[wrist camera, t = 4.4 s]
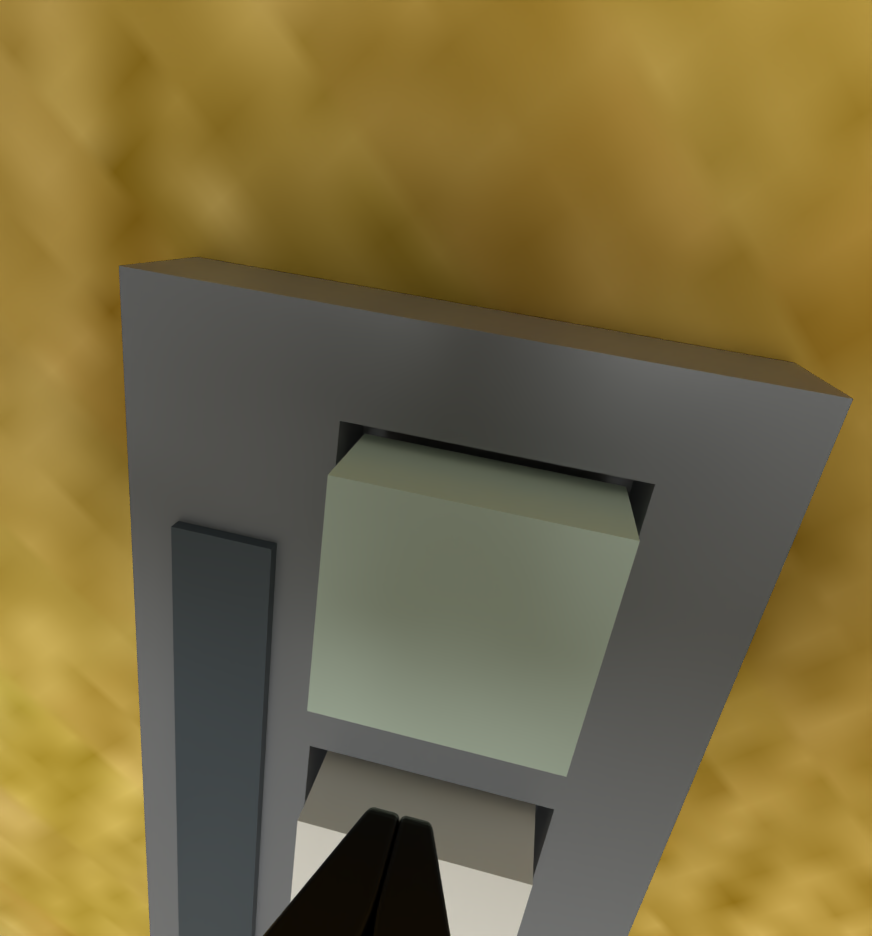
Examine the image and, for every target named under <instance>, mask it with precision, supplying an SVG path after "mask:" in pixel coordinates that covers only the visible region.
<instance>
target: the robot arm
mask: <svg viewBox="0 0 872 936" xmlns="http://www.w3.org/2000/svg"><path fill="white" fill-rule="evenodd" d="M263 936H451V935H450V929H449V923H448V917H447V911H446V905H445V899H444V893H443V887H442V881H441V875H440V869H439V862H438V856H437V850H436V844H435V838H434V832H433V828H432V825H431V824H430V823H429V822H428V821H425V820H421V819H417V818H414V817H410V816H403V817H402V818H401V819H400V821H399V816H398V814H397V813H395V812H391V811H387V810H384V809H380V808H376V807H372V808H369V809H368V810H367V811H366V812H365V813H364V814H363V815H362V816H361V818H360V819H359V820H358V821H357V822H356V824H355V825H354V826H353V827H352V828H351V830H350V831H349V832H348V833H347V834H346V836H345V837H344V838H343V839H342V840H341V842H340V843H339V844H338V845H337V847H336V848H335V849H334V850H333V851H332V853H331V854H330V855H329V856H328V857H327V859H326V860H325V861H324V862H323V863H322V865H321V866H320V867H319V868H318V869H317V871H316V872H315V873H314V874H313V876H312V877H311V878H310V879H309V880H308V882H307V883H306V884H305V885H304V886H303V888H302V889H301V890H300V891H299V892H298V894H297V895H296V896H295V897H294V898H293V900H292V901H291V902H290V903H289V905H288V906H287V907H286V908H285V909H284V911H283V912H282V913H281V914H280V915H279V917H278V918H277V919H276V920H275V921H274V923H273V924H272V925H271V926H270V928H269V929H268V930H267V931H266V932H265V934H264V935H263Z"/></svg>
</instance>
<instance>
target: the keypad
mask: <svg viewBox="0 0 872 936" xmlns="http://www.w3.org/2000/svg"><path fill="white" fill-rule="evenodd" d="M119 276H120V298H121V319H122V341H123V362H124V383H125V405H126V426H127V448H128V469H129V491H130V512H131V533H132V555H133V576H134V598H135V619H136V640H137V662H138V683H139V705H140V726H141V748H142V769H143V790H144V812H145V833H146V855H147V876H148V898H149V919H150V936H263V935H264V934H265V932H266V931H267V930H268V929H269V928H270V926H271V925H272V924H273V923H274V921H275V920H276V919H277V918H278V917H279V915H280V914H281V913H282V912H283V911H284V909H285V908H286V907H287V906H288V905H289V903H290V901H291V889H292V878H293V867H294V855H295V844H296V832H297V821H298V818H299V816H300V814H301V811H302V809H303V807H304V805H305V802H306V800H307V798H308V795H309V793H310V791H311V788H312V786H313V784H314V781H315V779H316V777H317V774H318V772H319V770H320V767H321V765H322V763H323V760H324V758H325V756H326V754H327V751H332V752H336V753H339V754H343V755H347V756H351V757H355V758H359V759H363V760H366V761H370V762H374V763H378V764H382V765H386V766H389V767H393V768H397V769H401V770H405V771H409V772H412V773H416V774H420V775H424V776H428V777H432V778H435V779H439V780H443V781H447V782H451V783H455V784H458V785H462V786H466V787H470V788H474V789H478V790H481V791H485V792H489V793H493V794H497V795H501V796H504V797H508V798H512V799H516V800H520V801H524V802H528V803H531V804H535V805H536V809H535V835H534V862H533V886H532V889H531V892H530V895H529V898H528V902H527V905H526V908H525V911H524V914H523V918H522V921H521V924H520V927H519V931H518V934H517V936H628V934H629V931H630V929H631V927H632V924H633V922H634V919H635V917H636V915H637V912H638V910H639V908H640V905H641V903H642V900H643V898H644V896H645V893H646V891H647V889H648V886H649V884H650V881H651V879H652V877H653V874H654V872H655V869H656V867H657V865H658V862H659V860H660V858H661V855H662V853H663V850H664V848H665V846H666V843H667V841H668V839H669V836H670V834H671V831H672V829H673V827H674V824H675V822H676V819H677V817H678V815H679V812H680V810H681V808H682V805H683V803H684V800H685V798H686V796H687V793H688V791H689V789H690V786H691V784H692V781H693V779H694V777H695V774H696V772H697V769H698V767H699V765H700V762H701V760H702V758H703V755H704V753H705V750H706V748H707V746H708V743H709V741H710V739H711V736H712V734H713V731H714V729H715V727H716V724H717V722H718V719H719V717H720V715H721V712H722V710H723V708H724V705H725V703H726V700H727V698H728V696H729V693H730V691H731V689H732V686H733V684H734V681H735V679H736V677H737V674H738V672H739V669H740V667H741V665H742V662H743V660H744V658H745V655H746V653H747V650H748V648H749V646H750V643H751V641H752V639H753V636H754V634H755V631H756V629H757V627H758V624H759V622H760V619H761V617H762V615H763V612H764V610H765V608H766V605H767V603H768V600H769V598H770V596H771V593H772V591H773V589H774V586H775V584H776V581H777V579H778V577H779V574H780V572H781V569H782V567H783V565H784V562H785V560H786V558H787V555H788V553H789V550H790V548H791V546H792V543H793V541H794V539H795V536H796V534H797V531H798V529H799V527H800V524H801V522H802V519H803V517H804V515H805V512H806V510H807V508H808V505H809V503H810V500H811V498H812V496H813V493H814V491H815V489H816V486H817V484H818V481H819V479H820V477H821V474H822V472H823V469H824V467H825V465H826V462H827V460H828V458H829V455H830V453H831V450H832V448H833V446H834V443H835V441H836V439H837V436H838V434H839V431H840V429H841V427H842V424H843V422H844V419H845V417H846V415H847V412H848V410H849V408H850V405H851V403H852V400H853V398H851V397H849V396H848V395H846V394H844V393H843V392H841V391H840V390H838V389H836V388H835V387H833V386H831V385H830V384H828V383H827V382H825V381H823V380H822V379H820V378H818V377H817V376H815V375H814V374H812V373H810V372H809V371H807V370H805V369H804V368H802V367H801V366H799V365H797V364H796V363H793V362H787V361H781V360H776V359H770V358H764V357H759V356H753V355H747V354H742V353H736V352H730V351H725V350H719V349H714V348H708V347H702V346H697V345H691V344H685V343H680V342H674V341H668V340H663V339H657V338H651V337H646V336H640V335H635V334H629V333H623V332H618V331H612V330H606V329H601V328H595V327H589V326H584V325H578V324H573V323H567V322H561V321H556V320H550V319H544V318H539V317H533V316H527V315H522V314H516V313H510V312H505V311H499V310H494V309H488V308H482V307H477V306H471V305H465V304H460V303H454V302H448V301H443V300H437V299H432V298H426V297H420V296H415V295H409V294H403V293H398V292H392V291H386V290H381V289H375V288H369V287H364V286H358V285H353V284H347V283H341V282H336V281H330V280H324V279H319V278H313V277H307V276H302V275H296V274H291V273H285V272H279V271H274V270H268V269H262V268H257V267H251V266H245V265H240V264H234V263H228V262H223V261H217V260H212V259H206V258H200V257H193V258H184V259H175V260H166V261H156V262H147V263H138V264H129V265H120V266H119ZM364 434H369V435H374V436H379V437H384V438H389V439H394V440H399V441H404V442H409V443H414V444H419V445H424V446H429V447H433V448H438V449H443V450H448V451H453V452H458V453H463V454H468V455H473V456H478V457H483V458H488V459H493V460H497V461H502V462H507V463H512V464H517V465H522V466H527V467H532V468H537V469H542V470H547V471H552V472H557V473H561V474H566V475H571V476H576V477H581V478H586V479H591V480H596V481H601V482H606V483H611V484H616V485H621V486H625V487H626V488H627V492H628V496H629V500H630V504H631V508H632V512H633V516H634V520H635V524H636V528H637V532H638V536H639V540H640V542H639V545H638V549H637V552H636V555H635V558H634V562H633V565H632V568H631V571H630V574H629V578H628V581H627V584H626V587H625V590H624V594H623V597H622V600H621V603H620V606H619V610H618V613H617V616H616V619H615V623H614V626H613V629H612V632H611V635H610V639H609V642H608V645H607V648H606V651H605V655H604V658H603V661H602V664H601V667H600V671H599V674H598V677H597V680H596V683H595V687H594V690H593V693H592V696H591V700H590V703H589V706H588V709H587V712H586V716H585V719H584V722H583V725H582V728H581V732H580V735H579V738H578V741H577V744H576V748H575V751H574V754H573V757H572V760H571V764H570V767H569V770H568V773H567V777H565V776H561V775H557V774H553V773H549V772H545V771H541V770H537V769H534V768H530V767H526V766H522V765H518V764H514V763H510V762H506V761H502V760H498V759H494V758H490V757H486V756H482V755H479V754H475V753H471V752H467V751H463V750H459V749H455V748H451V747H447V746H443V745H439V744H435V743H431V742H427V741H424V740H420V739H416V738H412V737H408V736H404V735H400V734H396V733H392V732H388V731H384V730H380V729H376V728H372V727H368V726H365V725H361V724H357V723H353V722H349V721H345V720H341V719H337V718H333V717H329V716H325V715H321V714H317V713H313V712H310V711H307V706H308V695H309V684H310V672H311V661H312V649H313V638H314V626H315V615H316V603H317V592H318V581H319V569H320V558H321V546H322V535H323V523H324V512H325V500H326V489H327V478H328V474H329V473H330V472H331V471H332V470H333V468H334V467H335V466H336V465H337V464H338V463H339V462H340V461H341V460H342V458H343V457H344V456H345V455H346V454H347V453H348V452H349V451H350V449H351V448H352V447H353V446H354V445H355V444H356V443H357V442H358V440H359V439H360V438H361V437H362V436H363V435H364Z"/></svg>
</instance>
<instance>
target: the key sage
mask: <svg viewBox="0 0 872 936" xmlns="http://www.w3.org/2000/svg"><path fill="white" fill-rule="evenodd" d="M639 542H640V540H639V536H638V532H637V528H636V524H635V520H634V516H633V512H632V508H631V504H630V500H629V496H628V492H627V488H626V487H625V486H621V485H616V484H611V483H606V482H601V481H596V480H591V479H586V478H581V477H576V476H571V475H566V474H561V473H557V472H552V471H547V470H542V469H537V468H532V467H527V466H522V465H517V464H512V463H507V462H502V461H497V460H493V459H488V458H483V457H478V456H473V455H468V454H463V453H458V452H453V451H448V450H443V449H438V448H433V447H429V446H424V445H419V444H414V443H409V442H404V441H399V440H394V439H389V438H384V437H379V436H374V435H369V434H364V435H363V436H362V437H361V438H360V439H359V440H358V442H357V443H356V444H355V445H354V446H353V447H352V448H351V449H350V451H349V452H348V453H347V454H346V455H345V456H344V457H343V458H342V460H341V461H340V462H339V463H338V464H337V465H336V466H335V467H334V468H333V470H332V471H331V472H330V473H329V474H328V478H327V489H326V500H325V512H324V523H323V535H322V546H321V558H320V569H319V581H318V592H317V603H316V615H315V626H314V638H313V649H312V661H311V672H310V684H309V695H308V706H307V711H310V712H313V713H317V714H321V715H325V716H329V717H333V718H337V719H341V720H345V721H349V722H353V723H357V724H361V725H365V726H368V727H372V728H376V729H380V730H384V731H388V732H392V733H396V734H400V735H404V736H408V737H412V738H416V739H420V740H424V741H427V742H431V743H435V744H439V745H443V746H447V747H451V748H455V749H459V750H463V751H467V752H471V753H475V754H479V755H482V756H486V757H490V758H494V759H498V760H502V761H506V762H510V763H514V764H518V765H522V766H526V767H530V768H534V769H537V770H541V771H545V772H549V773H553V774H557V775H561V776H565V777H567V773H568V770H569V767H570V764H571V760H572V757H573V754H574V751H575V748H576V744H577V741H578V738H579V735H580V732H581V728H582V725H583V722H584V719H585V716H586V712H587V709H588V706H589V703H590V700H591V696H592V693H593V690H594V687H595V683H596V680H597V677H598V674H599V671H600V667H601V664H602V661H603V658H604V655H605V651H606V648H607V645H608V642H609V639H610V635H611V632H612V629H613V626H614V623H615V619H616V616H617V613H618V610H619V606H620V603H621V600H622V597H623V594H624V590H625V587H626V584H627V581H628V578H629V574H630V571H631V568H632V565H633V562H634V558H635V555H636V552H637V549H638V545H639Z"/></svg>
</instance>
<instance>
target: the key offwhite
mask: <svg viewBox="0 0 872 936" xmlns="http://www.w3.org/2000/svg"><path fill="white" fill-rule="evenodd" d="M372 807H376V808H380V809H384V810H387V811H391V812H395V813H397V814H398V816H399V821H400V819H401V818H402V817H403V816H410V817H414V818H417V819H421V820H425V821H428V822H429V823H430V824H431V825H432V828H433V832H434V838H435V844H436V850H437V856H438V862H439V869H440V875H441V881H442V887H443V893H444V899H445V905H446V911H447V917H448V923H449V929H450V935H451V936H517V934H518V931H519V927H520V924H521V921H522V918H523V914H524V911H525V908H526V905H527V902H528V898H529V895H530V892H531V889H532V886H533V862H534V835H535V809H536V805H535V804H531V803H528V802H524V801H520V800H516V799H512V798H508V797H504V796H501V795H497V794H493V793H489V792H485V791H481V790H478V789H474V788H470V787H466V786H462V785H458V784H455V783H451V782H447V781H443V780H439V779H435V778H432V777H428V776H424V775H420V774H416V773H412V772H409V771H405V770H401V769H397V768H393V767H389V766H386V765H382V764H378V763H374V762H370V761H366V760H363V759H359V758H355V757H351V756H347V755H343V754H339V753H336V752H332V751H327V754H326V756H325V758H324V760H323V763H322V765H321V767H320V770H319V772H318V774H317V777H316V779H315V781H314V784H313V786H312V788H311V791H310V793H309V795H308V798H307V800H306V802H305V805H304V807H303V809H302V811H301V814H300V816H299V818H298V821H297V832H296V844H295V855H294V867H293V878H292V889H291V901H292V900H293V898H294V897H295V896H296V895H297V894H298V892H299V891H300V890H301V889H302V888H303V886H304V885H305V884H306V883H307V882H308V880H309V879H310V878H311V877H312V876H313V874H314V873H315V872H316V871H317V869H318V868H319V867H320V866H321V865H322V863H323V862H324V861H325V860H326V859H327V857H328V856H329V855H330V854H331V853H332V851H333V850H334V849H335V848H336V847H337V845H338V844H339V843H340V842H341V840H342V839H343V838H344V837H345V836H346V834H347V833H348V832H349V831H350V830H351V828H352V827H353V826H354V825H355V824H356V822H357V821H358V820H359V819H360V818H361V816H362V815H363V814H364V813H365V812H366V811H367V810H368V809H369V808H372ZM291 901H290V902H291Z"/></svg>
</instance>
